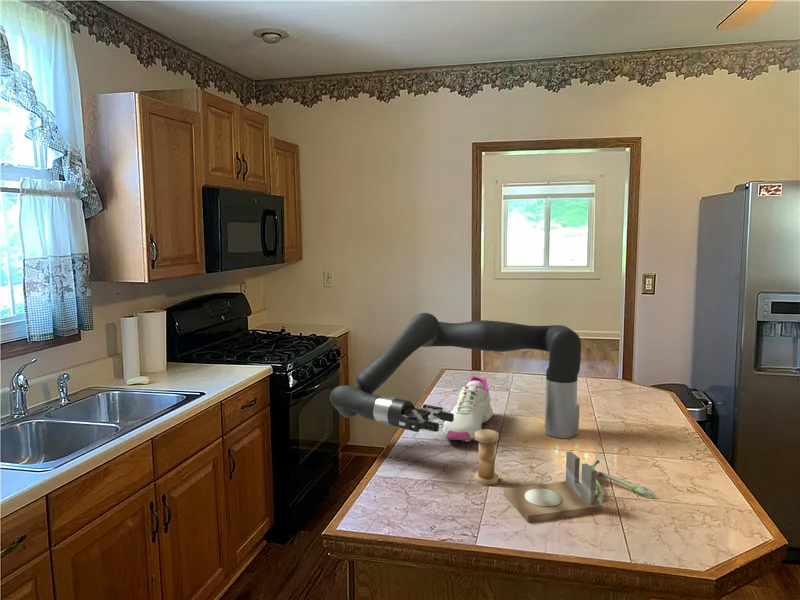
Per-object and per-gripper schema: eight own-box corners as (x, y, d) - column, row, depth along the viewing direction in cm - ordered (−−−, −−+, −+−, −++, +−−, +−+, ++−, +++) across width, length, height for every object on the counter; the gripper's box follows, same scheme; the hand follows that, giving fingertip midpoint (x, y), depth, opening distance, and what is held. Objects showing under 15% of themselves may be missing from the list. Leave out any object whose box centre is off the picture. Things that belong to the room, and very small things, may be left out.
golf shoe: (434, 448, 168) (434, 398, 166) (459, 411, 199) (459, 369, 197) (476, 453, 164) (476, 401, 162) (495, 415, 195) (495, 371, 193)
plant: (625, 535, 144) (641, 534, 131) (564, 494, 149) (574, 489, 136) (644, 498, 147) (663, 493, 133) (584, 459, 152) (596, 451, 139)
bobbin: (492, 473, 150) (493, 428, 149) (502, 484, 145) (502, 436, 143) (471, 476, 149) (471, 430, 147) (479, 486, 143) (480, 439, 141)
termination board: (571, 486, 143) (572, 449, 142) (600, 511, 130) (602, 472, 129) (503, 495, 139) (504, 457, 137) (527, 522, 126) (528, 481, 125)
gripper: (379, 405, 153) (433, 416, 144) (406, 391, 165) (458, 401, 156) (379, 432, 154) (432, 445, 145) (406, 417, 166) (457, 428, 157)
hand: (445, 422), depth 151 cm, fingers open, 8 cm apart
